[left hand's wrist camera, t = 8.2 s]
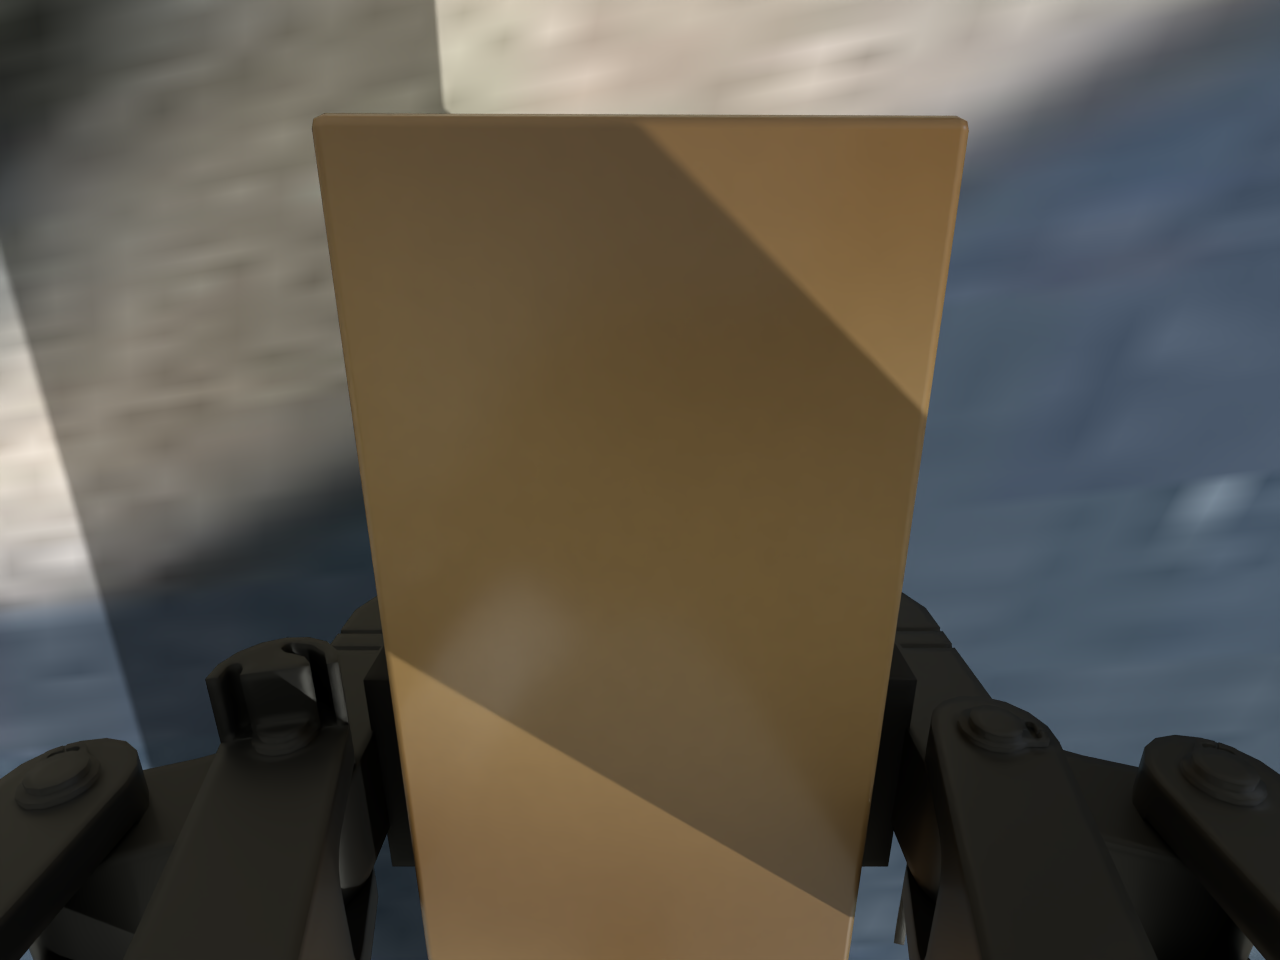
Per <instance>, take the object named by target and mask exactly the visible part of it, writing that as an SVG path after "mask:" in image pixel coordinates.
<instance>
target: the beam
mask: <svg viewBox="0 0 1280 960" xmlns="http://www.w3.org/2000/svg"><path fill="white" fill-rule="evenodd" d="M312 132H313V139H314V146H315V154H316V161H317V168H318V175H319V182H320V189H321V197H322V204H323V211H324V218H325V225H326V232H327V239H328V247H329V254H330V261H331V268H332V275H333V282H334V290H335V297H336V304H337V311H338V318H339V325H340V332H341V340H342V347H343V354H344V361H345V368H346V375H347V383H348V390H349V397H350V404H351V411H352V418H353V425H354V433H355V440H356V447H357V454H358V461H359V468H360V476H361V483H362V490H363V497H364V504H365V511H366V518H367V526H368V533H369V540H370V547H371V554H372V561H373V569H374V576H375V583H376V590H377V597H378V604H379V611H380V619H381V626H382V633H383V640H384V647H385V654H386V662H387V669H388V676H389V683H390V690H391V697H392V704H393V712H394V719H395V726H396V733H397V740H398V747H399V755H400V762H401V769H402V776H403V783H404V790H405V797H406V805H407V812H408V819H409V826H410V833H411V840H412V848H413V855H414V862H415V869H416V876H417V883H418V890H419V898H420V905H421V912H422V919H423V926H424V933H425V941H426V948H427V955H428V960H848V957H849V950H850V944H851V937H852V930H853V923H854V916H855V909H856V902H857V895H858V888H859V882H860V875H861V868H862V861H863V854H864V847H865V840H866V833H867V827H868V820H869V813H870V806H871V799H872V792H873V785H874V778H875V772H876V765H877V758H878V751H879V744H880V737H881V730H882V723H883V716H884V710H885V703H886V696H887V689H888V682H889V675H890V668H891V661H892V655H893V648H894V641H895V634H896V627H897V620H898V613H899V606H900V599H901V593H902V586H903V579H904V572H905V565H906V558H907V551H908V544H909V538H910V531H911V524H912V517H913V510H914V503H915V496H916V489H917V482H918V476H919V469H920V462H921V455H922V448H923V441H924V434H925V427H926V421H927V414H928V407H929V400H930V393H931V386H932V379H933V372H934V366H935V359H936V352H937V345H938V338H939V331H940V324H941V317H942V310H943V304H944V297H945V290H946V283H947V276H948V269H949V262H950V255H951V249H952V242H953V235H954V228H955V221H956V214H957V207H958V200H959V193H960V187H961V180H962V173H963V166H964V159H965V152H966V145H967V138H968V132H969V130H968V123H967V121H966V120H964V119H962V118H960V117H958V116H872V115H626V114H380V113H324V114H322V115H320V116H318V117H316V118H314V119H313V125H312Z"/></svg>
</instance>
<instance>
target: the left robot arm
mask: <svg viewBox="0 0 1280 960" xmlns="http://www.w3.org/2000/svg"><path fill="white" fill-rule="evenodd" d="M205 680H206V684H207V689H208V693H209V697H210V701H211V705H212V709H213V713H214V717H215V721H216V725H217V729H218V733H219V737H220V741H221V744H220V746H219V748H218V750H217V753H216V754H213V755H209V756H205V757H202V758H198V759H193V760H189V761H184V762H179V763H175V764H170V765H165V766H161V767H156V768H151V769H147V770H142V766H141V763H140V759H139V756H138V753H137V750H136V749H135V748H133V747H132V746H131V745H130V744H129V743H128V742H126V741H121V740H115V739H109V738H103V739H94V740H85V741H79V742H75V743H71V744H67V745H66V746H60V747H57V748H55V749H52V750H49V751H47V752H45V753H44V754H42V755H40V756H38V757H35V758H33V759H31V760H29V761H27V762H25V763H23V764H21V765H20V766H18V767H17V768H15V769H14V770H13V771H11V772H10V773H8V774H7V775H6V776H4V777H3V778H1V779H0V960H19V959H20V958H21V957H22V956H23V955H24V954H25V952H26V951H27V950H28V949H29V950H30V953H31V955H32V958H33V960H371V953H372V945H373V936H374V928H375V919H376V911H377V902H378V891H377V884H376V877H375V871H374V864H375V861H376V859H377V857H378V854H379V852H380V849H381V847H382V844H383V842H384V840H385V837H386V835H388V841H389V847H390V854H391V860H392V866H415V862H414V855H413V848H412V840H411V833H410V826H409V819H408V812H407V805H406V797H405V790H404V783H403V776H402V769H401V762H400V755H399V747H398V740H397V733H396V726H395V719H394V712H393V704H392V697H391V690H390V683H389V676H388V669H387V662H386V654H385V647H384V640H383V633H382V626H381V619H380V611H379V604H378V597H377V596H376V597H374V598H373V599H371V600H370V601H368V602H367V603H365V604H364V605H362V606H361V607H359V608H358V609H356V610H355V611H354V613H353V614H352V615H351V617H350V618H349V620H348V621H347V622H346V624H345V625H344V626H343V628H342V629H341V634H338V635H337V636H336V637H335V639H334V640H333V642H332V643H331V644H329V643H328V642H327V641H323V640H318V639H314V638H310V637H296V638H283V639H278V640H273V641H268V642H263V643H260V644H257V645H255V646H252V647H250V648H247V649H245V650H242V651H240V652H237V653H236V654H234V655H233V656H231V657H229V658H228V659H226V660H225V661H223V662H222V663H220V664H218V665H217V666H216V667H215V669H214V670H213V671H212V672H211V673H210V674H209V675H208V677H207V678H206V679H205ZM893 831H894V832H895V835H896V837H897V840H898V842H899V845H900V847H901V849H902V852H903V854H904V857H905V859H906V861H907V865H906V871H905V877H904V883H903V889H902V895H901V901H900V907H899V913H898V918H897V924H896V931H895V939H894V943H896V944H901V945H904V941H905V935H907V943H908V952H909V960H1250V959H1249V958H1248V957H1249V954H1250V952H1251V949H1252V947H1253V945H1254V946H1255V947H1256V949H1257V950H1258V951H1259V952H1260V953H1261V955H1262V956H1263V957H1264V958H1265V959H1266V960H1280V774H1278V773H1277V772H1275V771H1274V770H1273V769H1271V768H1270V767H1268V766H1267V765H1265V764H1264V763H1263V762H1261V761H1259V760H1257V759H1255V758H1253V757H1251V756H1249V755H1247V754H1245V753H1243V752H1241V751H1238V750H1237V749H1235V748H1233V747H1231V746H1228V745H1225V744H1222V743H1219V742H1218V743H1216V742H1215V741H1212V740H1207V739H1203V738H1198V737H1189V736H1180V735H1172V736H1165V737H1159V738H1155V739H1154V740H1153V741H1151V742H1150V743H1149V744H1148V745H1147V746H1146V747H1145V748H1144V751H1143V755H1142V758H1141V761H1140V765H1139V767H1135V766H1130V765H1125V764H1121V763H1116V762H1111V761H1107V760H1102V759H1097V758H1092V757H1088V756H1083V755H1079V754H1076V753H1072V752H1069V751H1065V750H1063V749H1062V747H1061V745H1060V742H1059V741H1058V740H1057V738H1056V737H1055V736H1054V734H1053V733H1052V732H1051V730H1050V729H1049V728H1048V726H1046V725H1045V724H1044V723H1042V722H1041V721H1040V720H1038V719H1037V718H1036V717H1034V716H1033V715H1032V714H1030V713H1029V712H1027V711H1024V710H1022V709H1020V708H1018V707H1016V706H1013V705H1011V704H1009V703H1007V702H1003V701H999V700H995V699H992V698H991V697H990V695H989V694H988V693H987V691H986V690H985V689H984V687H983V686H982V684H981V683H980V682H979V680H978V679H977V678H976V676H975V675H974V674H973V672H972V671H971V669H970V668H969V667H968V665H967V664H966V663H965V661H964V660H963V658H962V657H961V656H960V654H959V653H958V652H957V650H956V649H955V648H952V643H951V642H950V641H949V639H948V638H947V637H946V635H945V634H944V632H943V631H940V627H939V626H938V624H937V623H936V621H935V620H934V619H933V617H932V616H931V615H930V613H929V612H928V610H927V609H926V608H925V607H923V606H922V605H920V604H919V603H917V602H916V601H914V600H913V599H911V598H910V597H908V596H907V595H905V594H904V593H901V599H900V606H899V613H898V620H897V627H896V634H895V641H894V648H893V655H892V661H891V668H890V675H889V682H888V689H887V696H886V703H885V710H884V716H883V723H882V730H881V737H880V744H879V751H878V758H877V765H876V772H875V778H874V785H873V792H872V799H871V806H870V813H869V820H868V827H867V833H866V840H865V847H864V854H863V861H862V866H888V863H889V857H890V850H891V844H892V838H893Z"/></svg>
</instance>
